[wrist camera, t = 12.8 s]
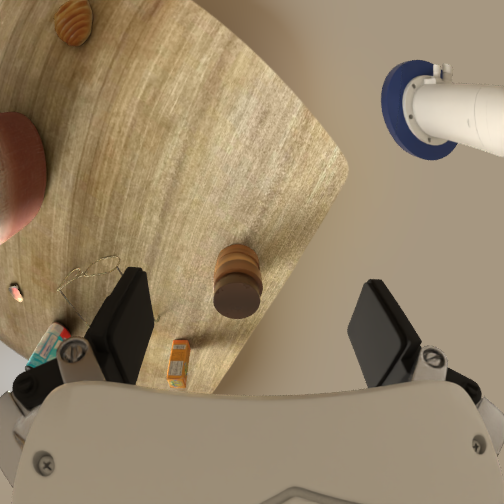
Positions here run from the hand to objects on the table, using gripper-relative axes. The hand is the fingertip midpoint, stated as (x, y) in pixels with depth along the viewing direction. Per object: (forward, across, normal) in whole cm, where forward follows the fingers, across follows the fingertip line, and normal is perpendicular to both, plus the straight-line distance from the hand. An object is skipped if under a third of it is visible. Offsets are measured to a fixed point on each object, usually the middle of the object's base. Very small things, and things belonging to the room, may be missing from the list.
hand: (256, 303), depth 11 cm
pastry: (+28, +28, -26) cm, 47 cm away
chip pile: (+28, 0, +15) cm, 32 cm away
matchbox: (+28, +54, +27) cm, 66 cm away
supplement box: (+28, +11, +35) cm, 46 cm away
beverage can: (+28, +42, +36) cm, 62 cm away
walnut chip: (+21, 0, +15) cm, 26 cm away
